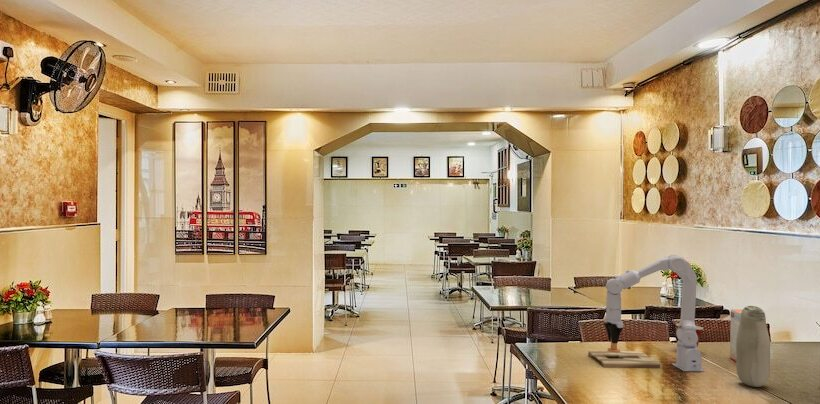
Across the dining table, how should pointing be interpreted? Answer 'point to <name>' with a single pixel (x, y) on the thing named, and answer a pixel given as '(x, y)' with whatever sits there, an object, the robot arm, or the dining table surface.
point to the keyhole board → (624, 359)
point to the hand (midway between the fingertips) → (613, 342)
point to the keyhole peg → (613, 348)
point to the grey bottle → (753, 348)
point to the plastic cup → (698, 331)
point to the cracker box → (734, 331)
